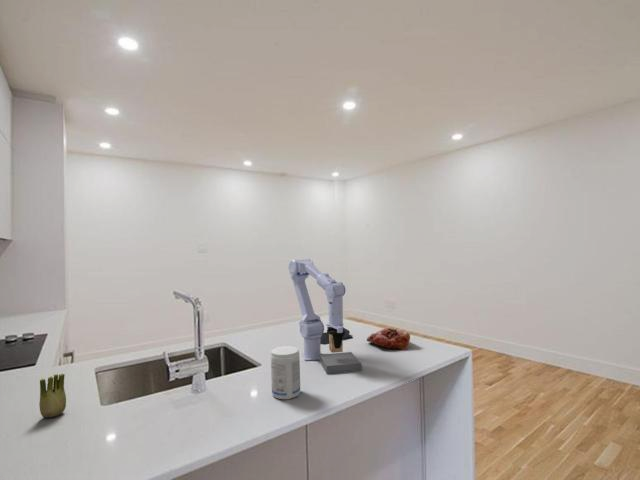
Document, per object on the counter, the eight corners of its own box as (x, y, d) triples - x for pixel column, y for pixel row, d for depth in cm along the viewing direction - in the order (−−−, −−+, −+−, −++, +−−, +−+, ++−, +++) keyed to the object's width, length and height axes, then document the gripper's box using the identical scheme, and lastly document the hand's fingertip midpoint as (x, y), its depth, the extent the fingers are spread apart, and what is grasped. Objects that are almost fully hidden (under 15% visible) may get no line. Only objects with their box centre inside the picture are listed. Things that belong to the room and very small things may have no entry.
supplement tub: (294, 385, 120) (293, 344, 120) (304, 396, 111) (304, 351, 111) (267, 391, 115) (267, 348, 116) (276, 403, 107) (276, 356, 107)
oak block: (329, 349, 139) (329, 334, 139) (339, 348, 140) (339, 333, 140) (331, 352, 135) (331, 337, 135) (342, 351, 136) (342, 336, 136)
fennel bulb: (38, 421, 97) (38, 379, 98) (44, 414, 102) (44, 373, 102) (62, 417, 100) (62, 376, 100) (67, 410, 104) (67, 370, 104)
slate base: (319, 361, 144) (319, 354, 144) (351, 358, 147) (351, 352, 147) (326, 373, 130) (326, 366, 130) (361, 370, 133) (361, 363, 133)
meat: (357, 342, 172) (357, 322, 172) (392, 337, 180) (391, 318, 180) (381, 354, 153) (381, 332, 153) (418, 348, 161) (418, 327, 161)
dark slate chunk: (305, 339, 179) (305, 330, 179) (337, 332, 192) (337, 324, 193) (323, 346, 167) (323, 336, 167) (356, 338, 180) (356, 329, 180)
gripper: (322, 309, 144) (322, 341, 144) (329, 316, 130) (330, 352, 130) (338, 309, 145) (339, 340, 145) (347, 316, 131) (348, 351, 131)
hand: (336, 346), depth 137 cm, fingers closed on oak block, 4 cm apart
